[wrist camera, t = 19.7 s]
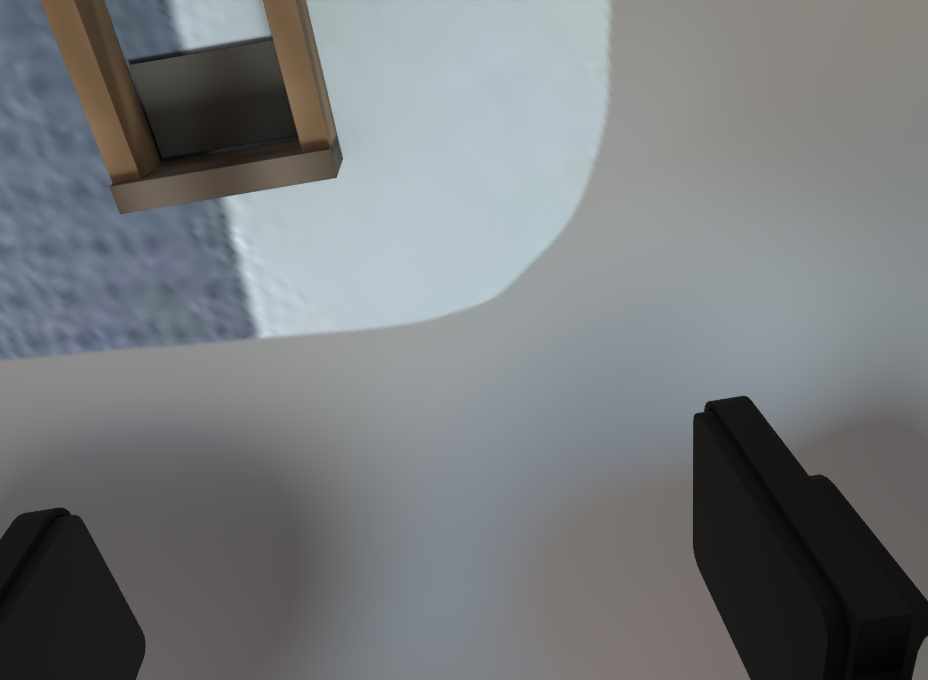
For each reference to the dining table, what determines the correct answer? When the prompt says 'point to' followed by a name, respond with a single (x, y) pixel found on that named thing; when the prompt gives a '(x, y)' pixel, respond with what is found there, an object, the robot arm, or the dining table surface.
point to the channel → (201, 109)
